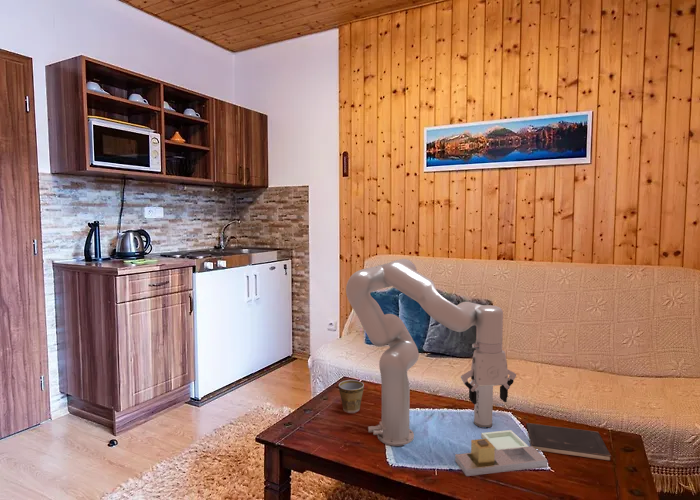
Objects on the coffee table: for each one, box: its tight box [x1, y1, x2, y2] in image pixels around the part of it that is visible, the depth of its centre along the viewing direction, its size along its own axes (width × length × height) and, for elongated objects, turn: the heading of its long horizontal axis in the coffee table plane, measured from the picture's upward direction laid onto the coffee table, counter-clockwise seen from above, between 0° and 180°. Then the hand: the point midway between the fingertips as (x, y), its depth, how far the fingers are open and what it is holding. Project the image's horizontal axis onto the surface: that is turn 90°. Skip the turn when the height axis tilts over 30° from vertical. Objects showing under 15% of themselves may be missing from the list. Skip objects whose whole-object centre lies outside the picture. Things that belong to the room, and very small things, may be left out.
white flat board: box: [454, 445, 548, 477], centre depth 132 cm, size 26×8×2 cm, turn 100°
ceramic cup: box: [338, 379, 365, 414], centre depth 171 cm, size 13×10×10 cm
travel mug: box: [473, 386, 494, 428], centre depth 157 cm, size 6×7×20 cm
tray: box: [480, 429, 529, 450], centre depth 143 cm, size 11×11×2 cm
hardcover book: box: [525, 422, 612, 461], centre depth 144 cm, size 16×23×2 cm
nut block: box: [470, 438, 495, 467], centre depth 130 cm, size 5×5×7 cm
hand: (488, 401), depth 132 cm, fingers open, 9 cm apart
